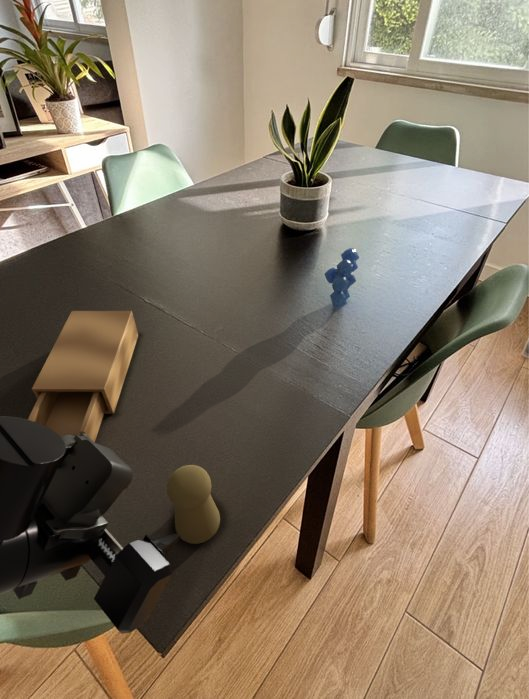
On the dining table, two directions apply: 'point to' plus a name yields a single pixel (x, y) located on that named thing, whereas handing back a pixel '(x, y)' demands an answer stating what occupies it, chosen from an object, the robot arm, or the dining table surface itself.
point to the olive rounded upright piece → (193, 504)
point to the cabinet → (91, 355)
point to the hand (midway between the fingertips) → (149, 510)
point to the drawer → (70, 412)
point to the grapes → (342, 277)
